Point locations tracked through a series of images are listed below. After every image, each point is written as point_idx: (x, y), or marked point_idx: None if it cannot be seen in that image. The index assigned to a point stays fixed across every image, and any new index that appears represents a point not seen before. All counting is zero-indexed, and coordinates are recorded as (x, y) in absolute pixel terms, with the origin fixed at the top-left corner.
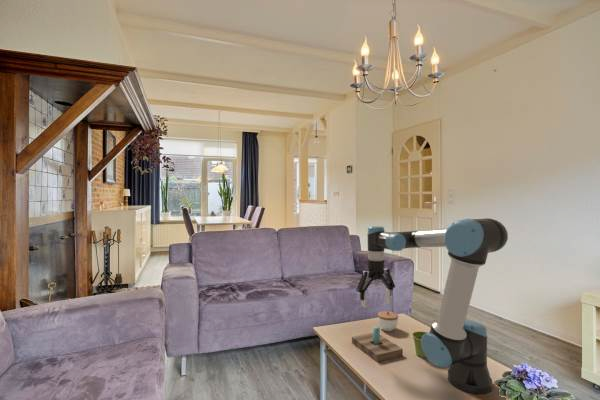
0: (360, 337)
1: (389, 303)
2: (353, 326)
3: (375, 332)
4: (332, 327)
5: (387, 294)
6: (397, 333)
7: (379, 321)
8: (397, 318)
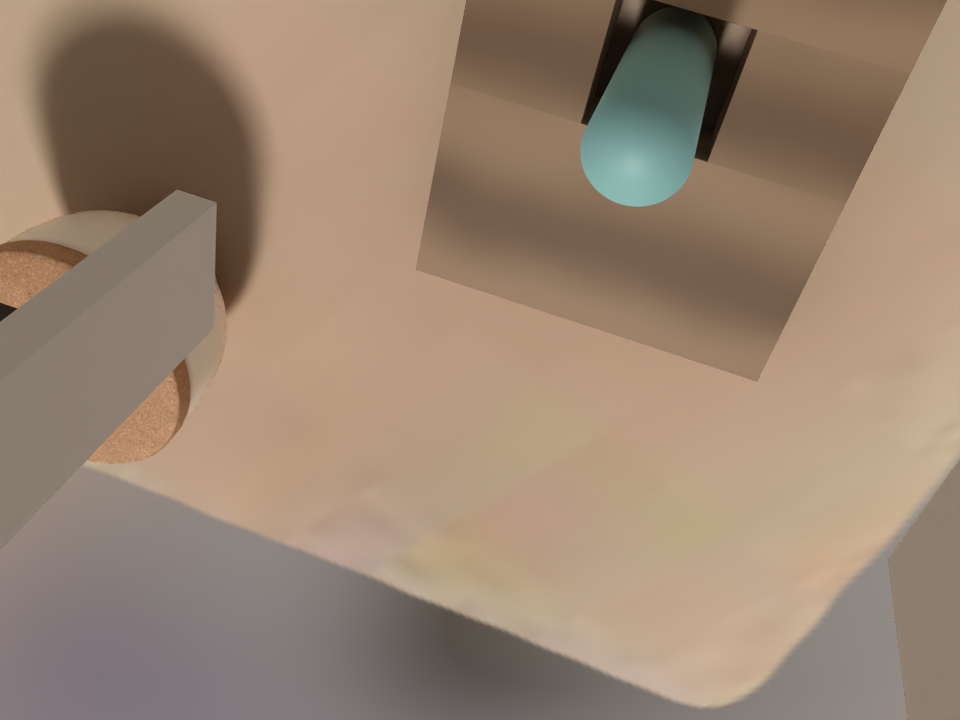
0: (691, 304)
1: (203, 203)
2: (421, 525)
3: (696, 112)
4: (604, 635)
5: (72, 397)
6: (145, 145)
7: (211, 372)
8: (9, 242)
